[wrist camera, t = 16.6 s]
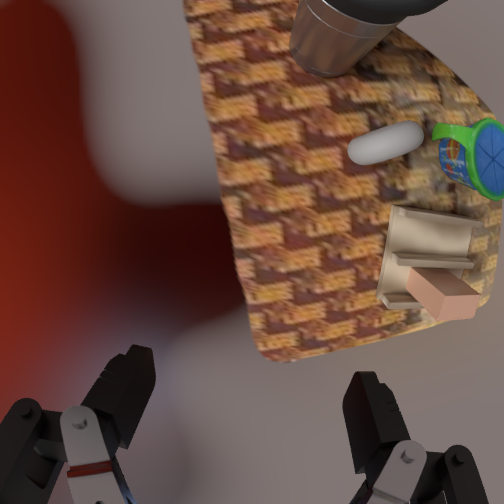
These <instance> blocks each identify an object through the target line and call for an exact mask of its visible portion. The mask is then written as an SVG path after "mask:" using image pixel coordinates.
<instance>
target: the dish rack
mask: <svg viewBox="0 0 504 504" xmlns="http://www.w3.org/2000/svg"><path fill="white" fill-rule="evenodd" d="M473 227H475V228H481V229H482V227H483V222H481V221H479V220H476V219H474V218H472V217H468V216H462V215H457V214H451V213H445V212H439V211H432V210H426V209H419V208H412V207H405V206H397V205H391V213H390V220H389V227H388V234H387V240H386V246H385V252H384V257H383V263H382V268H381V273H380V278H379V283H378V287H377V292H376V297H377V299H378V300H382V301H383V303H384V304H385V305H386V307H387V308H388V309H414V308H424V307H423V306H422V305H421V304H420V303H419V302H418V301H417V300H416V299H415V298H414V297H413V296H412V295H411V294H410V293H409V292H408V291H407V290H406V285H407V281H408V277H409V272H410V268H411V267H420V268H445V269H446V270H448V271H449V272H451V273H452V274H453V275H455V276H456V277H458V278H459V279H460V280H461V277H462V274H463V270H464V269H474V265H475V263H474V262H472V261H471V260H469V259H467V258H466V257H467V253H468V248H469V244H470V239H471V233H472V228H473Z"/></svg>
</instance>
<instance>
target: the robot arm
mask: <svg viewBox="0 0 504 504" xmlns="http://www.w3.org/2000/svg"><path fill="white" fill-rule="evenodd" d="M446 1H448V0H300V1H299V5H298V9H297V13H296V17H295V21H294V25H293V29H292V33H291V37H290V42H289V48H290V52H291V54H292V57H293V59H294V60H295V61H296V63H297V64H298V65H299V66H300V67H302V68H303V69H304V70H306V71H307V72H309V73H311V74H314V75H316V76H320V77H329V78H331V77H338V76H340V75H343V74H345V73H346V72H348V71H349V70H350V69H351V68H352V67H353V66H354V65H355V64H356V63H357V62H358V61H359V60H361V59H362V58H363V57H364V56H365V55H366V54H367V53H368V52H369V51H370V50H371V49H372V48H373V47H374V46H375V45H376V44H377V43H379V42H380V41H381V40H382V39H383V38H384V37H385V36H386V35H387V34H388V33H389V32H390V31H392V30H393V29H394V28H395V27H396V26H397V25H398V24H399V23H400V22H401V21H402V20H404V19H405V18H406V17H407V16H414V15H420V14H424V13H426V12H429V11H431V10H433V9H434V8H436V7H437V6H439V5H441V4H443V3H444V2H446ZM155 382H156V373H155V367H154V359H153V351H152V349H151V348H148V347H144V346H139V345H134V344H133V345H132V346H131V347H130V349H129V350H128V352H127V353H126V355H123V354H118V355H117V356H115V357H114V358H113V359H111V360H110V361H109V362H108V364H107V365H106V367H105V368H104V371H102V373H101V374H100V376H99V378H98V379H97V380H96V382H95V383H94V385H93V386H92V388H91V389H90V391H89V392H88V394H87V396H86V397H85V399H84V400H83V402H82V403H81V405H77V406H72V407H69V408H68V409H66V410H65V411H64V412H55V411H48V410H42V408H41V406H40V405H39V403H38V402H37V401H35V400H34V399H31V398H23V399H20V400H18V401H16V402H15V403H14V404H13V406H12V407H11V409H10V410H9V412H8V413H7V415H6V416H5V417H4V419H3V421H2V422H1V424H0V504H47V503H48V500H49V498H50V495H51V493H52V490H53V488H54V485H55V483H56V481H57V478H58V476H59V474H60V471H61V469H62V467H63V465H64V462H68V463H69V469H70V470H69V471H67V480H68V483H69V487H70V490H71V494H72V497H73V500H74V503H75V504H137V502H136V500H135V498H134V497H133V495H132V493H131V491H130V489H129V486H128V484H127V482H126V480H125V477H124V475H123V473H122V470H121V468H120V465H119V462H118V460H117V457H116V455H115V453H116V451H117V449H118V447H121V448H124V449H128V447H129V445H130V442H131V440H132V438H133V435H134V433H135V431H136V428H137V426H138V424H139V421H140V419H141V417H142V415H143V412H144V410H145V407H146V405H147V403H148V401H149V399H150V396H151V394H152V392H153V389H154V386H155ZM343 414H344V418H345V423H346V428H347V432H348V437H349V442H350V447H351V453H352V458H353V463H354V468H355V474H360V473H365V474H366V479H365V481H364V482H363V483H362V485H361V487H360V488H359V490H358V491H357V493H356V494H355V496H354V497H353V499H352V500H351V502H350V503H349V504H409V500H410V504H446V501H447V504H489V503H488V500H487V496H486V493H485V490H484V487H483V484H482V481H481V478H480V475H479V472H478V469H477V466H476V464H475V461H474V458H473V456H472V453H471V452H470V451H469V449H468V448H466V447H464V446H462V445H454V446H451V447H450V448H449V449H448V450H447V451H446V452H445V453H439V452H428V451H425V449H424V448H423V446H422V445H421V444H419V443H418V442H415V441H412V440H411V439H410V436H409V433H408V431H407V428H406V425H405V422H404V420H403V417H402V415H401V412H400V411H399V407H398V404H397V403H396V399H395V397H394V395H393V392H392V391H391V390H390V389H389V388H388V387H387V386H386V384H385V383H379V381H378V378H377V375H376V373H375V372H374V371H364V372H363V371H357V372H355V373H354V375H353V378H352V380H351V382H350V384H349V387H348V389H347V391H346V393H345V396H344V399H343ZM443 491H444V492H443ZM444 493H445V496H446V501H445V496H444Z"/></svg>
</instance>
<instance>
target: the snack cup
mask: <svg viewBox="0 0 504 504" xmlns="http://www.w3.org/2000/svg"><path fill="white" fill-rule="evenodd" d="M437 139H442V141H441V143H440V144H439V159H440V163H441V166H442V170H443V171H444V172H445V173H446V174H447V176H448V177H450V178H451V179H453V180H455V181H457V182H459V183H461V184H463V185H465V186H467V187H470V188H472V189H474V190H476V191H478V192H479V193H480V194H481V195H482V196H484V197H486V198H488V199H492V200H494V201H499V200H500V199H503V198H504V126H503V125H502V124H501V123H499V122H498V121H496V120H493V119H491V118H484V119H483V120H480V121H478V122H476V123H475V124H474V125H470V126H467V127H465V126H460V125H454V124H445V123H437V124H436V125H435V127H434V129H433V133H432V141H435V140H437Z"/></svg>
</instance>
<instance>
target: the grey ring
mask: <svg viewBox="0 0 504 504" xmlns="http://www.w3.org/2000/svg"><path fill="white" fill-rule="evenodd" d="M423 140H424V133H423V130H422V128H421V127H420V126H419V125H418V124H417V123H416V122H414V121H409V120H408V121H403V122H399V123H396V124H392V125H389V126H386V127H383V128H380V129H377V130H375V131H372V132H369V133H366V134H364V135H361V136H359V137H357V138H355V139H353V140H352V141H351V142H350V143H349V145H348V150H347V152H348V156H349V157H350V159H351V160H352V161H353V162H355V163H357V164H360V165H370V164H374V163H379V162H382V161H386V160H389V159H392V158H395V157H398V156H401V155H403V154H406V153H408V152H410V151H413V150H415V149H416V148H418V147H419V146H420V145H421V144H422V142H423Z"/></svg>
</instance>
